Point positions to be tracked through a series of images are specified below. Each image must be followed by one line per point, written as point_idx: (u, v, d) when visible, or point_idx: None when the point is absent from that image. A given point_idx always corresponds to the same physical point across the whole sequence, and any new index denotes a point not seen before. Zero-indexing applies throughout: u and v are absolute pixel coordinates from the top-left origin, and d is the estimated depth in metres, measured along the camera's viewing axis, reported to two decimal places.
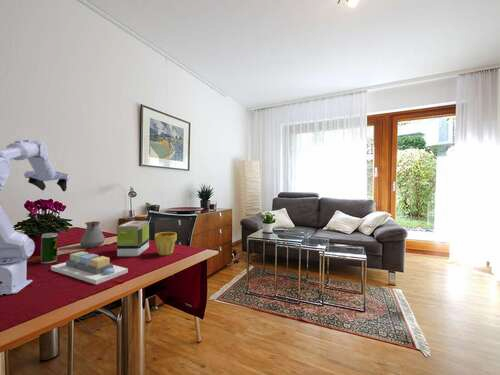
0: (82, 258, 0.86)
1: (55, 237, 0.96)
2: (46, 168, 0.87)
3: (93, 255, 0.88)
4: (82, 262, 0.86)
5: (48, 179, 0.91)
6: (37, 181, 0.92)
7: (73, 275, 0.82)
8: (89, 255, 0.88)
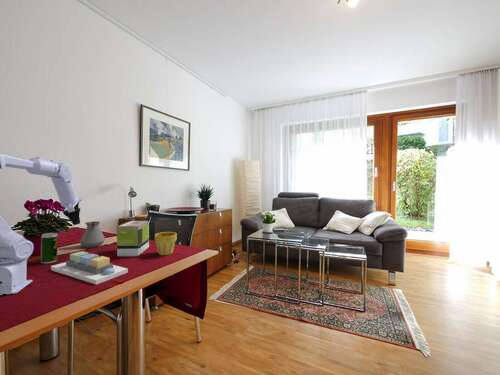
0: (82, 258, 0.86)
1: (55, 237, 0.96)
2: (66, 191, 0.89)
3: (93, 255, 0.88)
4: (82, 262, 0.86)
5: (61, 204, 0.90)
6: None
7: (73, 275, 0.82)
8: (89, 255, 0.88)
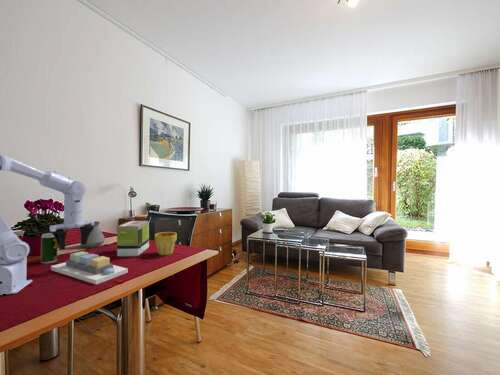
0: (82, 258, 0.86)
1: None
2: (70, 210, 0.85)
3: (93, 255, 0.88)
4: (82, 262, 0.86)
5: None
6: (81, 229, 0.91)
7: (73, 275, 0.82)
8: (89, 255, 0.88)
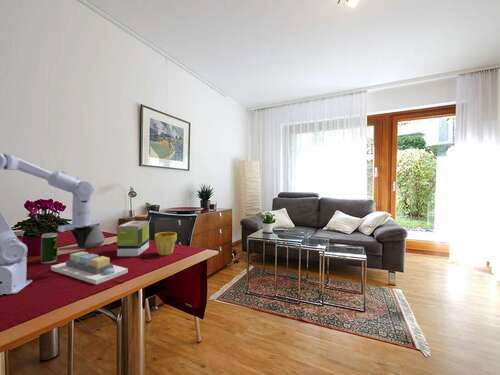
0: (82, 258, 0.86)
1: (55, 237, 0.96)
2: (77, 210, 0.84)
3: (93, 255, 0.88)
4: (82, 262, 0.86)
5: None
6: None
7: (73, 275, 0.82)
8: (89, 255, 0.88)
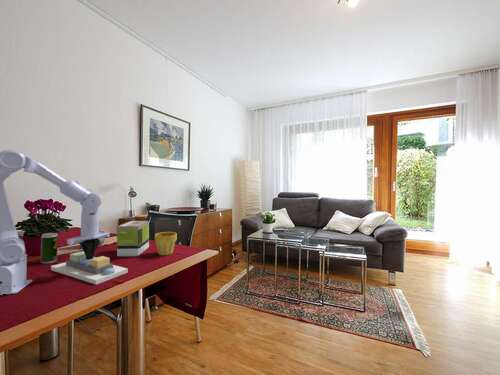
0: (82, 261, 0.86)
1: (55, 237, 0.96)
2: (85, 223, 0.85)
3: None
4: None
5: None
6: None
7: (73, 275, 0.82)
8: None
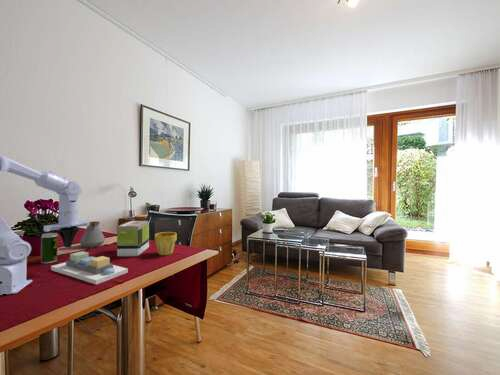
0: (82, 261, 0.86)
1: (55, 237, 0.96)
2: (66, 210, 0.85)
3: None
4: None
5: None
6: None
7: (73, 275, 0.82)
8: (89, 258, 0.88)
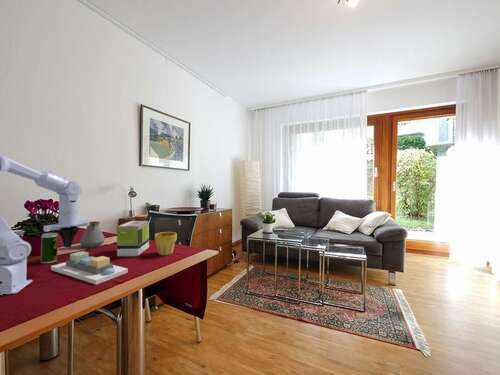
0: (82, 261, 0.86)
1: (55, 237, 0.96)
2: (66, 210, 0.85)
3: None
4: None
5: None
6: None
7: (73, 275, 0.82)
8: (89, 258, 0.88)
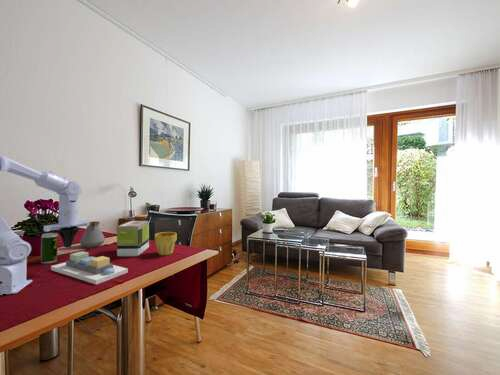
0: (82, 261, 0.86)
1: (55, 237, 0.96)
2: (66, 210, 0.85)
3: None
4: None
5: None
6: None
7: (73, 275, 0.82)
8: (89, 258, 0.88)
